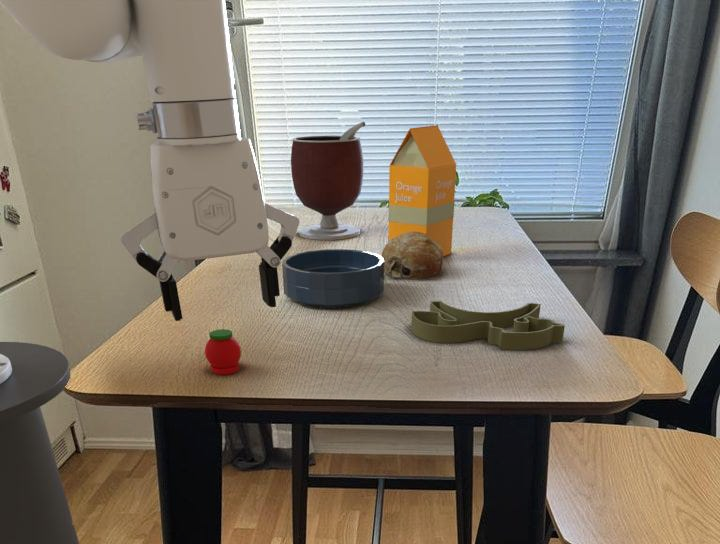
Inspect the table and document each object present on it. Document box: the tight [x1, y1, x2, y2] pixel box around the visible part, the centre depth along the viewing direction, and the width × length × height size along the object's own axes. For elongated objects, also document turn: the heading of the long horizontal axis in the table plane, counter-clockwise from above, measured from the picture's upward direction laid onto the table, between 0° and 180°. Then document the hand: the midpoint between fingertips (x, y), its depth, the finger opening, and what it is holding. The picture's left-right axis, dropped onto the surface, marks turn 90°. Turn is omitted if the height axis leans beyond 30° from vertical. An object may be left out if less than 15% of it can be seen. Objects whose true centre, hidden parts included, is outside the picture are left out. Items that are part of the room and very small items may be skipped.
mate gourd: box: [290, 121, 366, 241], centre depth 129 cm, size 16×14×20 cm
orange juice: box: [388, 124, 457, 257], centre depth 112 cm, size 8×9×20 cm
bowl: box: [281, 248, 385, 309], centre depth 95 cm, size 14×14×5 cm
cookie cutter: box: [410, 300, 566, 351], centre depth 82 cm, size 18×12×2 cm, turn 83°
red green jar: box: [204, 328, 242, 375], centre depth 72 cm, size 4×4×4 cm
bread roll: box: [381, 231, 444, 280], centre depth 106 cm, size 10×10×8 cm
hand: (224, 310), depth 69 cm, fingers open, 9 cm apart
